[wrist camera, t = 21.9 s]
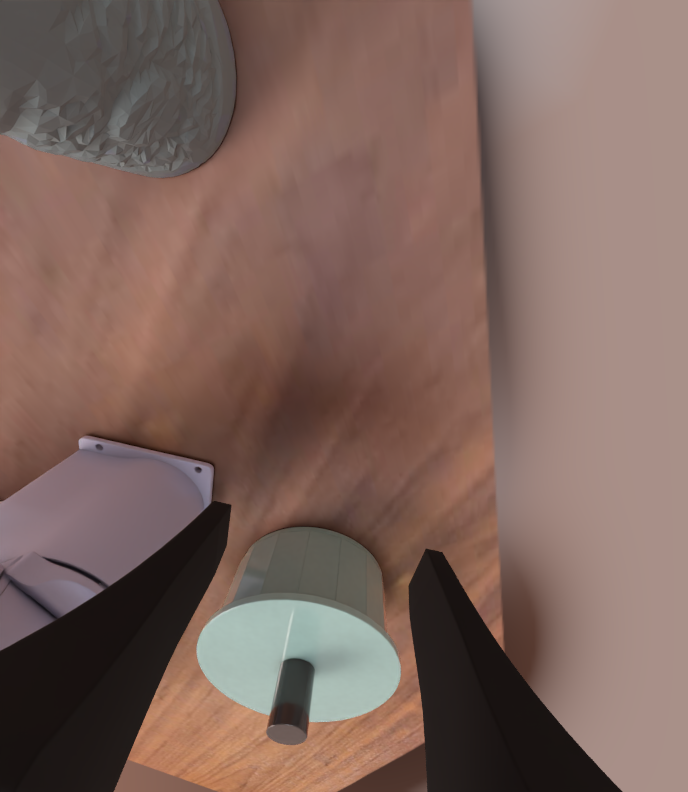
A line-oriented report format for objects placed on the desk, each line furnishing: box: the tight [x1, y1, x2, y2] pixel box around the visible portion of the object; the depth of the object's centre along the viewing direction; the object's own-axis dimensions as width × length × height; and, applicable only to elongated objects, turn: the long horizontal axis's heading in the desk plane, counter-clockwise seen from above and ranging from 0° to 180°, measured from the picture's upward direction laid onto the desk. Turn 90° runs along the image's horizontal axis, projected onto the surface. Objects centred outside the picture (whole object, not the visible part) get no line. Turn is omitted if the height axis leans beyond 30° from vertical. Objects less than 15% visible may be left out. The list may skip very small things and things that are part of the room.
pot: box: [222, 527, 387, 632], centre depth 25 cm, size 12×12×6 cm
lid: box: [197, 592, 401, 745], centre depth 21 cm, size 14×14×4 cm
